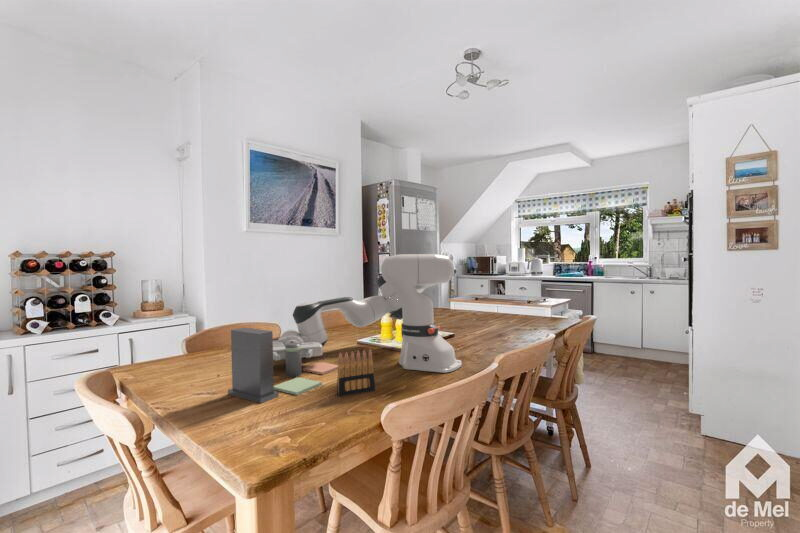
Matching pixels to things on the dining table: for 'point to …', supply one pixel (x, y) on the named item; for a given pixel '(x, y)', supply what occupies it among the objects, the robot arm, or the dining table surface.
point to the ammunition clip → (355, 374)
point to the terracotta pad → (321, 368)
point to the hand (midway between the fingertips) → (293, 356)
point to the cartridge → (293, 359)
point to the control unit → (252, 364)
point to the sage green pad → (297, 386)
